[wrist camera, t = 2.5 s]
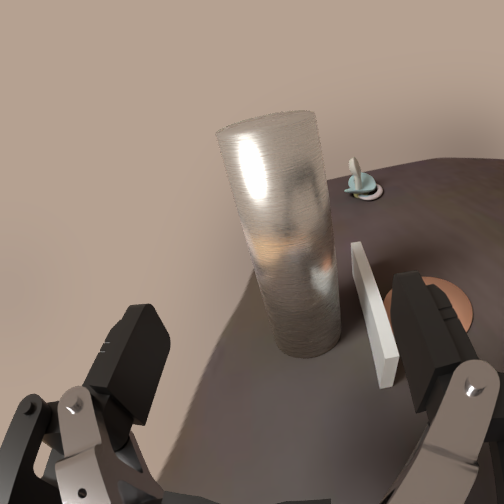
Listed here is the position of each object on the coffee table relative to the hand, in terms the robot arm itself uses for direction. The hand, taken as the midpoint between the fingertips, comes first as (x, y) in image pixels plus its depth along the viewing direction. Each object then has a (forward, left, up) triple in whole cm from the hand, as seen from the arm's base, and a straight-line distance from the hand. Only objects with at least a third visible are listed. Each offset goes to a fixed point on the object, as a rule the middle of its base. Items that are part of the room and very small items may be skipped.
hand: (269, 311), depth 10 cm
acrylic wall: (-9, -9, -14) cm, 19 cm away
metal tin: (-4, -11, -14) cm, 18 cm away
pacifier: (-24, -32, -14) cm, 42 cm away
